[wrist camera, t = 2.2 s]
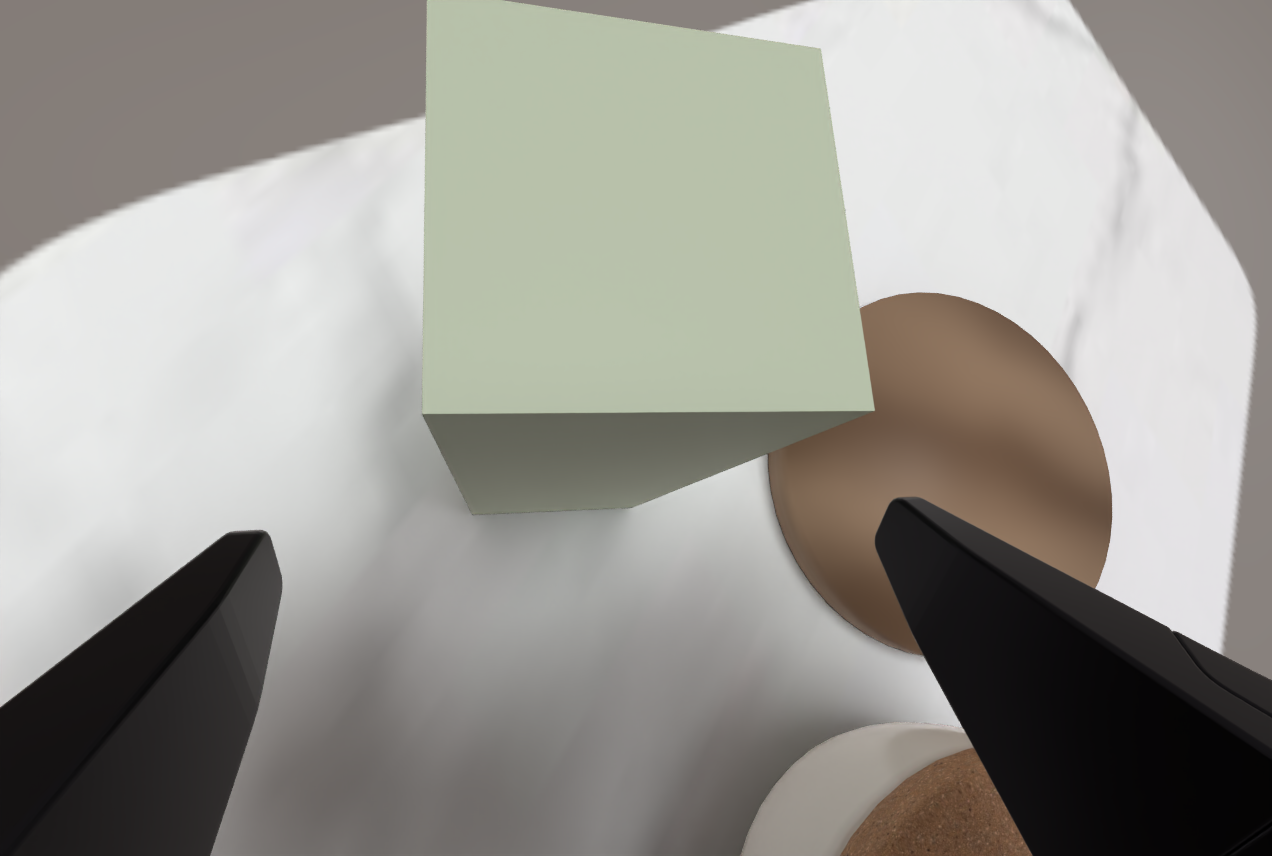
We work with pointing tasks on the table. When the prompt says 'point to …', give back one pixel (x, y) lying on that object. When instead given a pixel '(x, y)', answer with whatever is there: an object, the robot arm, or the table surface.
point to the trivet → (945, 456)
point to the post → (627, 256)
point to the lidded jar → (886, 799)
